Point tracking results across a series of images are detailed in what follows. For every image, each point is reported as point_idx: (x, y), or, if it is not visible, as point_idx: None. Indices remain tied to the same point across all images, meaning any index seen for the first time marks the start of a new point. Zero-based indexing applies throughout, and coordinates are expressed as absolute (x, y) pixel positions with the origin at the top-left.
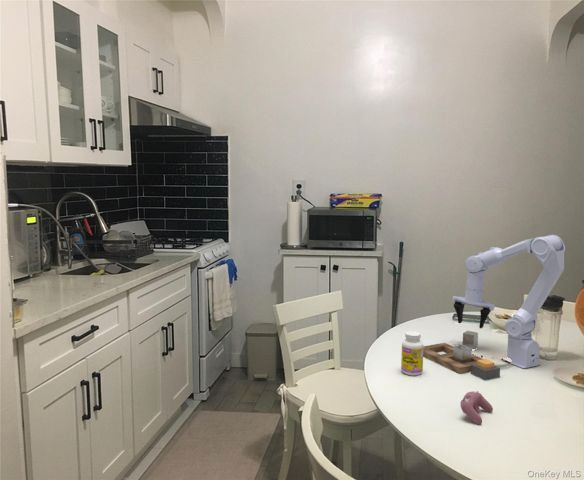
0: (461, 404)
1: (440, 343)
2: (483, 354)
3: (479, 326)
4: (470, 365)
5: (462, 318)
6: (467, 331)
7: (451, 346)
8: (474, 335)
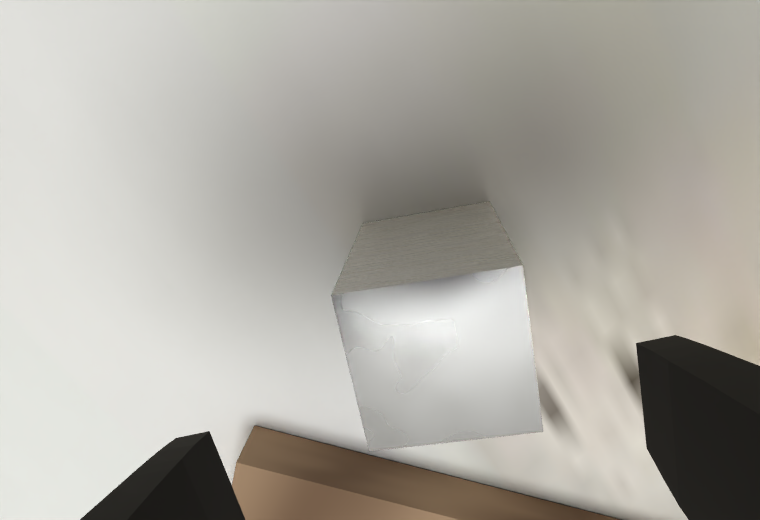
0: None
1: None
2: (627, 321)
3: (668, 485)
4: None
5: (169, 469)
6: (361, 334)
7: (358, 512)
8: (539, 410)
